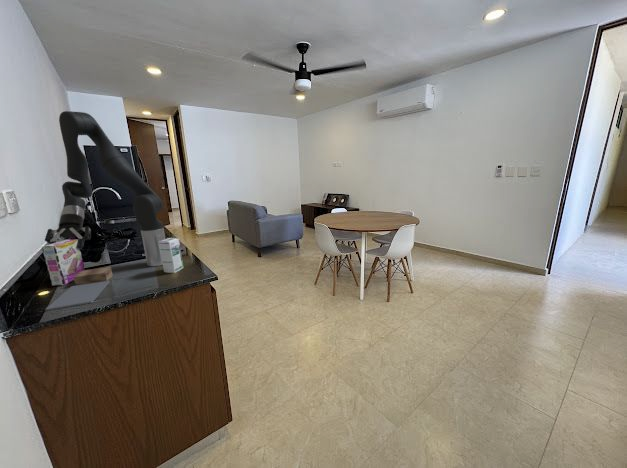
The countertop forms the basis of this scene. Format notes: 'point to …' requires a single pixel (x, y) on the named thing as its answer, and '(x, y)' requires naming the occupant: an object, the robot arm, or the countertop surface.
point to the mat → (78, 295)
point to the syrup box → (171, 255)
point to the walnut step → (93, 276)
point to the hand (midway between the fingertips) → (66, 249)
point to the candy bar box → (63, 261)
